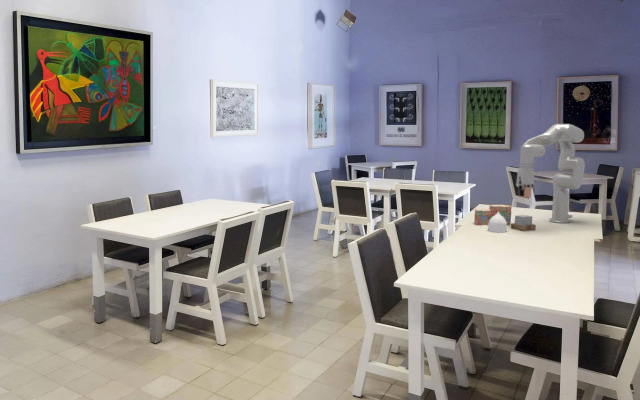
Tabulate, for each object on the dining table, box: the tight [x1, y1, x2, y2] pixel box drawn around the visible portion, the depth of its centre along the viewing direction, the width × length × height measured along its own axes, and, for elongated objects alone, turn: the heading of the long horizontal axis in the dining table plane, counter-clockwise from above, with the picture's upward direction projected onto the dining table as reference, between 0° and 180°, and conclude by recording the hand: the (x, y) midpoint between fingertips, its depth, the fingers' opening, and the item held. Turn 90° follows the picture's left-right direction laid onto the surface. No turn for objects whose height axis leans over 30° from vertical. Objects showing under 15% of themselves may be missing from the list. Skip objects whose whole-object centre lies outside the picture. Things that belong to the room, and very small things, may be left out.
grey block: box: [514, 214, 533, 226], centre depth 334 cm, size 7×7×5 cm
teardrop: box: [487, 212, 508, 234], centre depth 329 cm, size 11×11×12 cm
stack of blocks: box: [473, 204, 512, 226], centre depth 349 cm, size 21×6×12 cm, turn 86°
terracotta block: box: [518, 186, 533, 199], centre depth 332 cm, size 5×5×6 cm
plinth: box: [510, 222, 537, 232], centre depth 335 cm, size 10×10×3 cm
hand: (524, 195), depth 332 cm, fingers closed on terracotta block, 5 cm apart
